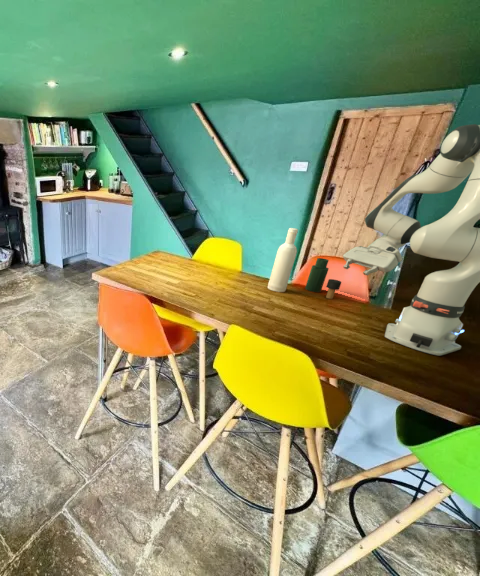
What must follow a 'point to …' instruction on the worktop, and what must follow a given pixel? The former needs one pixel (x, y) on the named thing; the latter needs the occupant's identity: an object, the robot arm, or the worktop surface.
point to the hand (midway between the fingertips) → (354, 271)
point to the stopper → (332, 287)
